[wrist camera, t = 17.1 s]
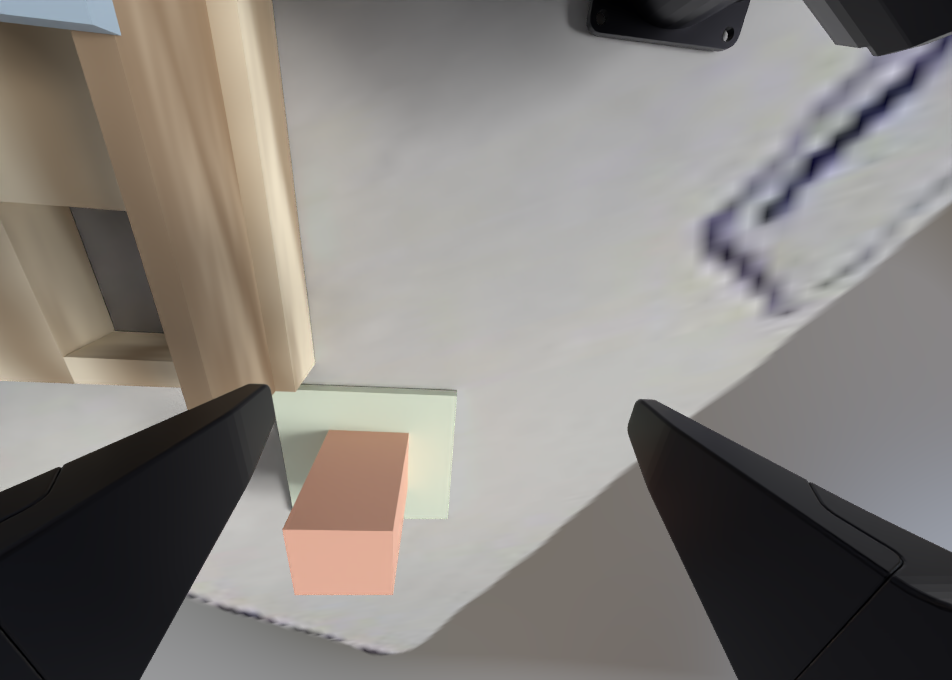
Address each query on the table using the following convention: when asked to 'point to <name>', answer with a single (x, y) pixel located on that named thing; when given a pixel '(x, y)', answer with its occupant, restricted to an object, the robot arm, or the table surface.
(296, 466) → the sage mat
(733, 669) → the robot arm
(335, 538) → the block
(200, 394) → the open storage box
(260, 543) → the table surface
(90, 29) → the cover
